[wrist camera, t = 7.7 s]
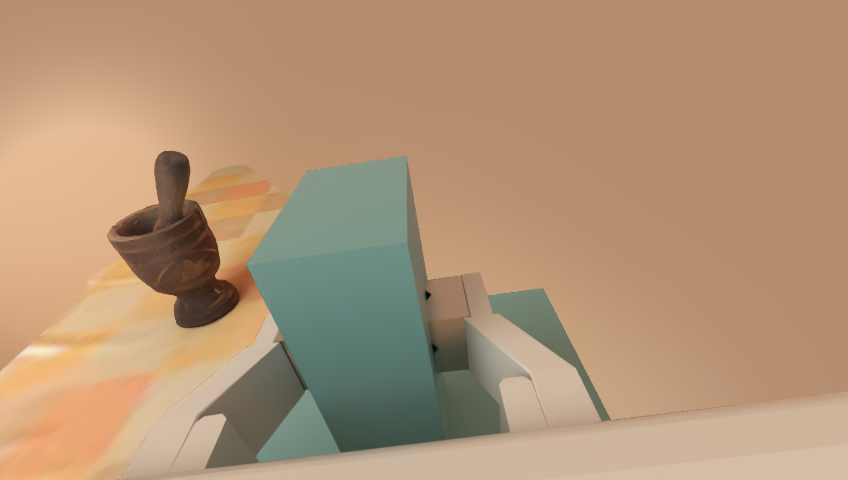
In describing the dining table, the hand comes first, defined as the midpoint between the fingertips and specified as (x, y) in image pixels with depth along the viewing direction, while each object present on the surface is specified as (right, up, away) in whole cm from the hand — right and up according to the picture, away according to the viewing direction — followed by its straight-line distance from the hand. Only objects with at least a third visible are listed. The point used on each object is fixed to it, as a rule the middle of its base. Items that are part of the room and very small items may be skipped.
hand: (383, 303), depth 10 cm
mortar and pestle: (-24, -7, +35) cm, 43 cm away
